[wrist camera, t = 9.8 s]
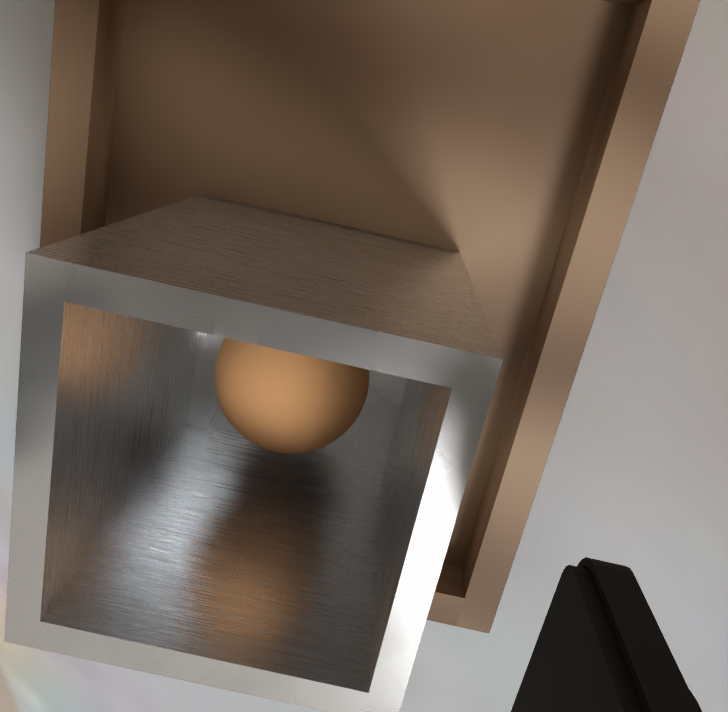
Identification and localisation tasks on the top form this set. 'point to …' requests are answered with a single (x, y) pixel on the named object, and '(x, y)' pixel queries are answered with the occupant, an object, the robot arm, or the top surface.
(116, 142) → the walnut tray
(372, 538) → the square metal container
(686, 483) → the top surface
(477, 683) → the top surface
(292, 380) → the mixing ball
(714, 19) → the top surface
